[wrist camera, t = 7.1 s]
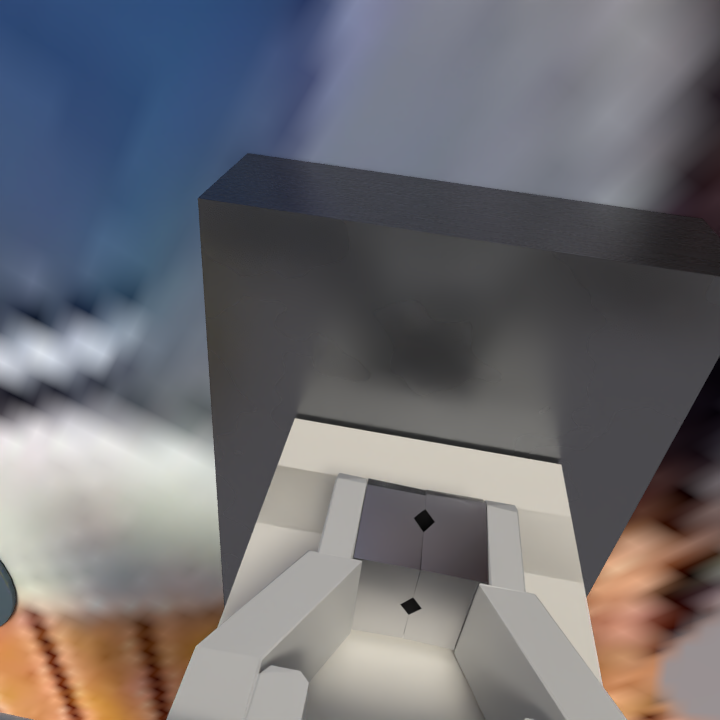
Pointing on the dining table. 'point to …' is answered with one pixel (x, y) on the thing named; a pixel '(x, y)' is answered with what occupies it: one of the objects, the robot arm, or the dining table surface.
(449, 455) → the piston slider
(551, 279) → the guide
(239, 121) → the dining table surface
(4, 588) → the cocktail glass
